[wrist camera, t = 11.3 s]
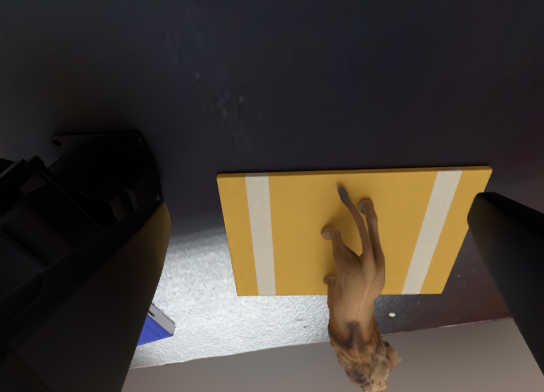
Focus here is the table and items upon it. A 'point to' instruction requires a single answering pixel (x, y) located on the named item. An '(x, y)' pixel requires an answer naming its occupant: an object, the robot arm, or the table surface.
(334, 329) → the lion figurine
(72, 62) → the table surface
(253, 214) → the towel
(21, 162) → the robot arm
